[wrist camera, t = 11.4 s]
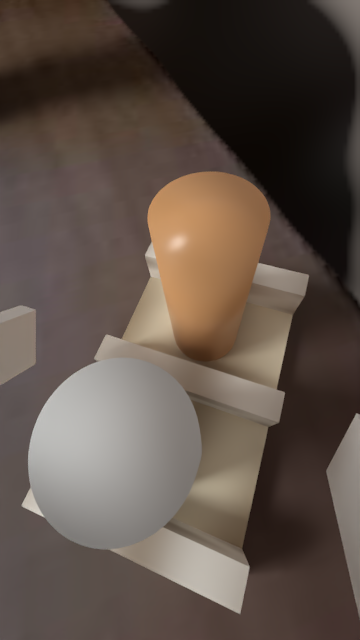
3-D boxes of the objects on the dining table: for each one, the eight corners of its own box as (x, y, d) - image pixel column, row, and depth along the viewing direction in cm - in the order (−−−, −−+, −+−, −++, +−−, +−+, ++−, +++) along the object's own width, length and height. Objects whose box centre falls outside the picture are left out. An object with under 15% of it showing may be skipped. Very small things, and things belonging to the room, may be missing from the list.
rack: (57, 495, 16) (21, 506, 13) (160, 269, 22) (153, 238, 19) (231, 577, 14) (240, 614, 11) (291, 303, 20) (309, 275, 17)
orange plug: (174, 305, 19) (149, 175, 10) (233, 303, 19) (261, 168, 10) (173, 362, 18) (144, 266, 9) (239, 360, 17) (279, 259, 8)
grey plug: (131, 410, 17) (46, 360, 8) (200, 409, 16) (197, 355, 7) (126, 490, 15) (9, 548, 6) (203, 490, 15) (204, 550, 6)
